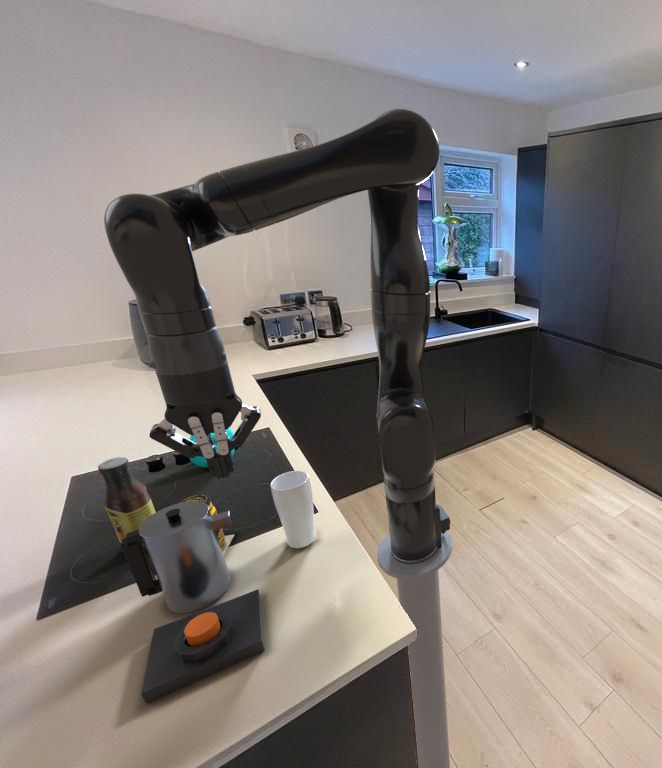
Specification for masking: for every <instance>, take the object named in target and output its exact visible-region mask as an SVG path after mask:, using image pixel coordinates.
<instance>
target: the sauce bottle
mask: <svg viewBox="0 0 662 768" xmlns="http://www.w3.org/2000/svg"><path fill="white" fill-rule="evenodd" d="M130 465H131V464H130V462H129V460H128V457H125V456H124V457H122V456H118V457H113V458H109V459H107V460H105V461H103V462H101V463H100V464H98V466H97V469H98V473H99V474H100V475H101V476H102V478H103V480H104V484H105V493H104V500H103V506H104V508H105V511H106V513H107V516H108V518H109V520H110V522H111V525H112V527H113V529H114V531H115V534H116V536H117V538H118V541H119V543H120V544H121V541H122V539H124V538H126V535H127V533H129V532H132V531H136V530H139V527H140V526H141V524H142V523H143V522H144V521H145V520H146V519H147V518H148V517H150V516H151V515H153V514H154V513H156V512H157V511H156V509H155V506H154V503H153V501H152V498H151V496H150V494H149V492H148V489H147V487H146V485H145V484H144V483H142V482H141V481H139V480H137V479H135V478H134V474H132V471H131V469H130ZM142 544H143V543H142ZM143 547H144V544H143ZM144 549H145V547H144ZM145 552H146V549H145ZM146 553H147V552H146Z"/></svg>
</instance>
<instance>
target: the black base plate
mask: <svg viewBox="0 0 662 768" xmlns="http://www.w3.org/2000/svg"><path fill="white" fill-rule="evenodd" d="M262 605H263V604H262V597H261V594H260V589H255V590H252V591H249V592H247V593H244V594H242V595H239V596H237V597H234V598H231V599H229V600H226V601H224V602H221V603H219V604H215V605H213V606H211V607H208V608H205V609H203V610H200V611H198V612H195V613H192V614H189V615H187V616H185V617H181V618H179V619H176V620H174V621H171V622H169V623H167V624H166V623H165V624H163V625H161V626H159V627H156V628H154V629H153V631H152V637H151V642H150V647H149V652H148V657H147V662H146V667H145V672H144V678H143V682H142V687H141V692H140V693H141V697H142V699H143V701H144V703H145V705H148V704H150V703H152V702H155V701H156V700H158V699H160V698H163V697H166V696H167V695H169V694H172V693H174V692H176V691H179V690H180V689H182V688H185V687H187V686H189V685H192V684H194V683H196V682H198V681H200V680H202V679H205V678H207V677H209V676H212V675H214V674H215V673H218V672H220V671H222V670H225V669H227V668H229V667H231V666H233V665H236V664H237V663H240V662H243V661H244V660H246V659H249V658H251V657H253V656H256V655H258V654H260V653H262V652H265V650H266V647H265V636H264V635H265V633H264V621H263V606H262ZM207 612H213V613H215V614H216V615H217V617H218V620H219V623H220V626H221V627H220V631H219V633H218V634H217V635H216V636H215V637H214V638H213V639H211V640H210V641H209V642H207V643H205V644H202V645H200V646H191V645H189V644H188V641H187V639H186V636H185V634H184V630H185V627H186V626H187V624H188V623H189V622H190V621H191V620H192V619H194V618H195V617H197V616H199V615H201V614H203V613H207Z"/></svg>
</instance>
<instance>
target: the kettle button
mask: <svg viewBox="0 0 662 768" xmlns="http://www.w3.org/2000/svg"><path fill="white" fill-rule="evenodd" d="M220 627H221V626H220V623H219V620H218V617H217V615H216V614H215V613H213V612H207V613H203V614H201V615H199V616H197V617H195V618H194V619H192V620H191V621H190V622H189V623H188V624H187V626H186V627H185V630H184V634H185V636H186V639H187V641H188V644H189V645H191V646H200V645H202V644H205V643H207V642H209V641H210V640H211V639H213V638H214V637H215V636H216V635H217V634H218V633H219V631H220Z"/></svg>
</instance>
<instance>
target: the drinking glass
mask: <svg viewBox="0 0 662 768" xmlns="http://www.w3.org/2000/svg"><path fill="white" fill-rule="evenodd" d="M269 486H270V491H271V496H272V500H273V504H274V507H275V510H276V513H277V515H278V518H279V521H280V523H281V526H282V530H283V532H284V534H285V537H286V540H287V545H288V546H289V547H290V548H291V549H302V548H305V547H308V546H309V545H311V544H312V543H313V542H314V541H315V539H316V538H317V530H316V524H315V512H314V499H313V498H314V497H313V490H312V483H311V480H310V476H309V474H308V473H307V472H306V471H303V470H291V471H286V472H283V473H282V474H279V475H277V476H276V477H274V479H272V481H271V482H270V485H269Z"/></svg>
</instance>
